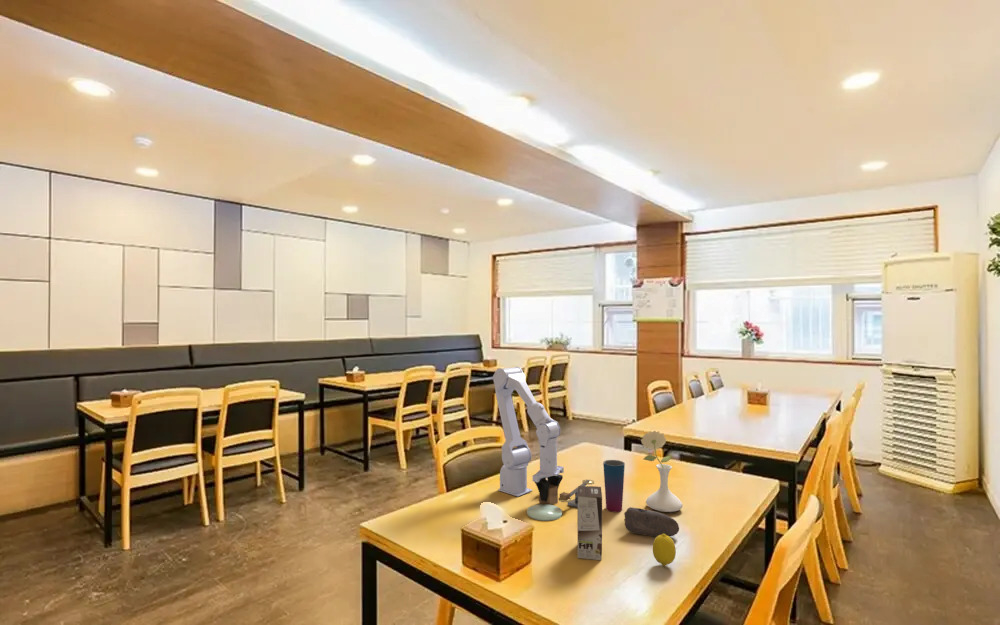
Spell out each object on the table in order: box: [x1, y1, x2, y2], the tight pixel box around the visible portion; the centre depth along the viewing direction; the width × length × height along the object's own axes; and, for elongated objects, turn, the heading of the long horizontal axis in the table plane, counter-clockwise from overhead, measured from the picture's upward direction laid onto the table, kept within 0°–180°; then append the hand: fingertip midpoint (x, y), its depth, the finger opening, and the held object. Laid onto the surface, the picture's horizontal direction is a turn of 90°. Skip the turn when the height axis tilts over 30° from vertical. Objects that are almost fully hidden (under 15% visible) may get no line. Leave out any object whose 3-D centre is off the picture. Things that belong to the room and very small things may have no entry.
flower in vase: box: [640, 430, 684, 513], centre depth 168 cm, size 13×11×25 cm
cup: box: [602, 459, 626, 513], centre depth 168 cm, size 7×7×15 cm
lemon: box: [652, 534, 677, 567], centre depth 130 cm, size 6×6×8 cm
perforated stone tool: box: [623, 506, 680, 537], centre depth 148 cm, size 15×5×7 cm, turn 69°
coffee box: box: [577, 485, 603, 561], centre depth 138 cm, size 9×6×16 cm
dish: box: [526, 503, 563, 522], centre depth 164 cm, size 11×11×1 cm
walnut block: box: [538, 484, 559, 506], centre depth 173 cm, size 4×4×6 cm
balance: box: [558, 479, 595, 509], centre depth 172 cm, size 4×18×6 cm, turn 137°
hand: (548, 498), depth 173 cm, fingers closed on walnut block, 4 cm apart
